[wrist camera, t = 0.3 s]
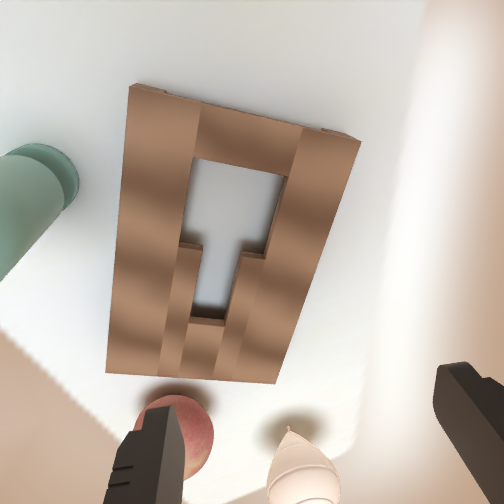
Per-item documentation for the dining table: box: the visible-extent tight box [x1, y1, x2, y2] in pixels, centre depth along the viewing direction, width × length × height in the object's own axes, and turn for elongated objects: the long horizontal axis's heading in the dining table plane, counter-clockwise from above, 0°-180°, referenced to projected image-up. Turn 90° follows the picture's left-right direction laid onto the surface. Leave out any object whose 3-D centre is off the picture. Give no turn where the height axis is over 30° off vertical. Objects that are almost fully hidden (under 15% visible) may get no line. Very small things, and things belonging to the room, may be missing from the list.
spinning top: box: [267, 425, 340, 504], centre depth 39 cm, size 8×8×12 cm
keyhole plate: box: [105, 83, 361, 384], centre depth 31 cm, size 24×16×3 cm, turn 167°
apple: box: [133, 395, 214, 481], centre depth 37 cm, size 8×8×8 cm
